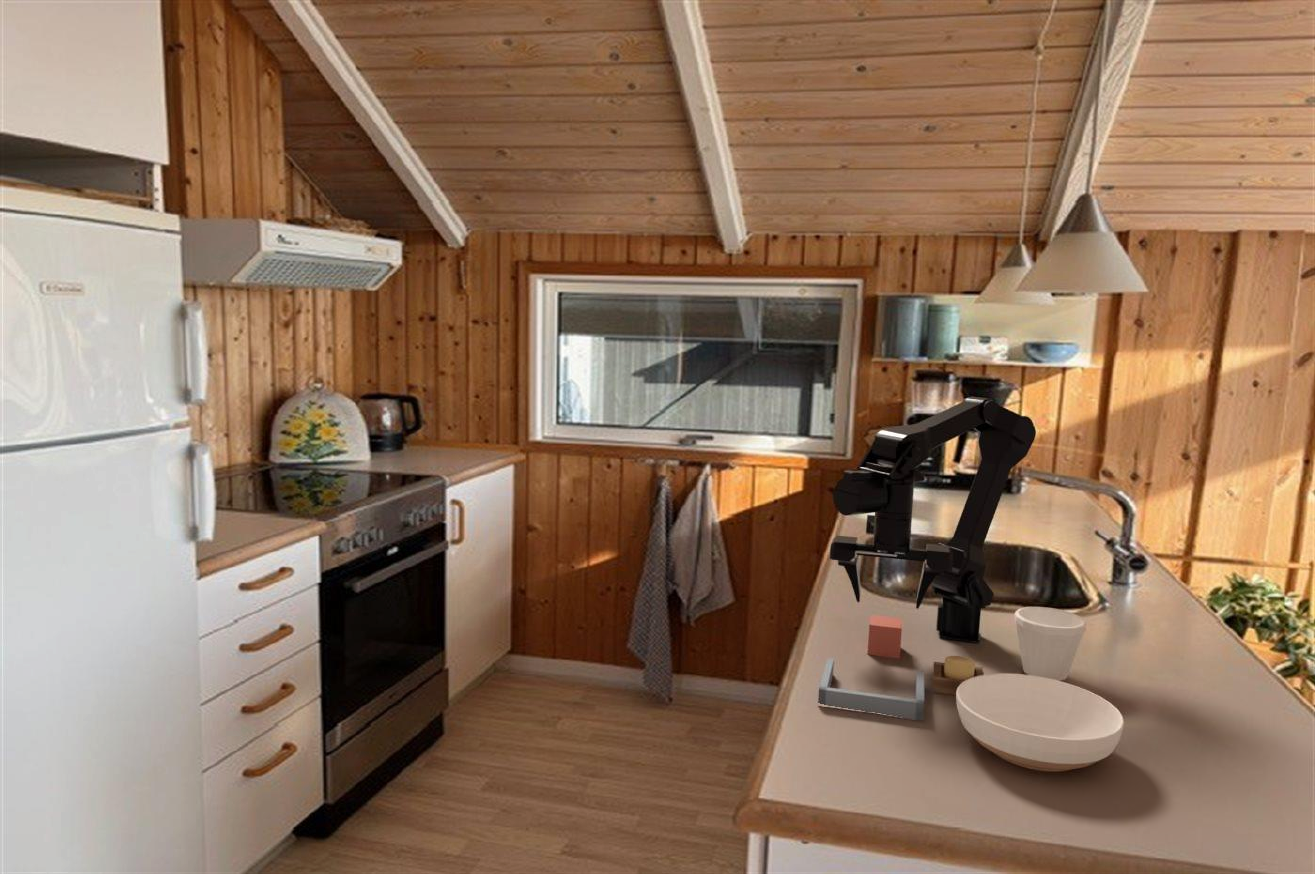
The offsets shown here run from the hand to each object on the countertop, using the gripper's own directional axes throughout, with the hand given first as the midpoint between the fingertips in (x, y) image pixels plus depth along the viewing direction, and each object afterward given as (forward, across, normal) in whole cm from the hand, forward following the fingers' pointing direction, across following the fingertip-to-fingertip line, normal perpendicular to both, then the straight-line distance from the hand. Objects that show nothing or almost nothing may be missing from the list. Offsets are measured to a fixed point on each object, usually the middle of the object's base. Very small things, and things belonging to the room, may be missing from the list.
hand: (887, 604), depth 148 cm
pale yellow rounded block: (+7, -11, +11) cm, 17 cm away
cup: (+8, -24, +2) cm, 25 cm away
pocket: (+8, +1, +19) cm, 21 cm away
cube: (+8, 0, 0) cm, 8 cm away
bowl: (+8, -19, +29) cm, 36 cm away
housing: (+8, -11, +11) cm, 17 cm away
